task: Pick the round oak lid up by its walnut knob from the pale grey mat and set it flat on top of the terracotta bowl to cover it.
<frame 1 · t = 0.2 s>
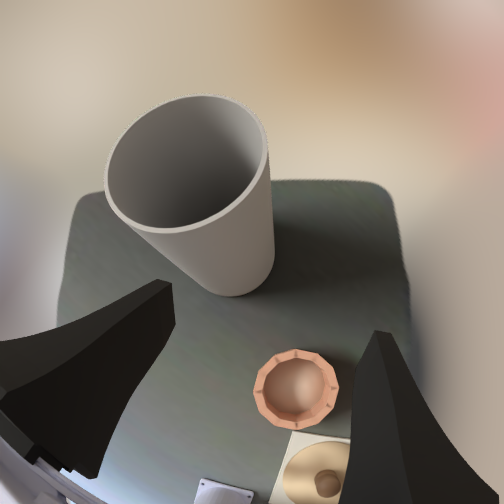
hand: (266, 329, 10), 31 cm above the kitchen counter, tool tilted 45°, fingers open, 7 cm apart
lid: (324, 476, 32), point 1 cm above the kitchen counter, touching mat
cylinder vase: (232, 255, 44), on the kitchen counter
bowl: (294, 385, 37), on the kitchen counter
mat: (324, 474, 33), on the kitchen counter
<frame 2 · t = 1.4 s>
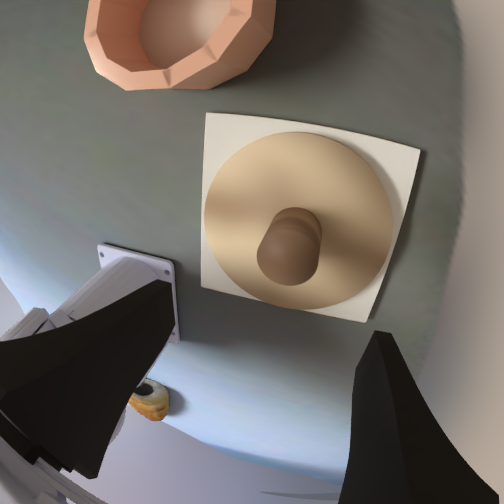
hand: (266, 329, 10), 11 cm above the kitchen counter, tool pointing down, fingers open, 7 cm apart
pastry: (153, 390, 36), on the kitchen counter
lid: (297, 226, 19), point 1 cm above the kitchen counter, touching mat
bowl: (196, 19, 14), on the kitchen counter
mat: (298, 223, 19), on the kitchen counter
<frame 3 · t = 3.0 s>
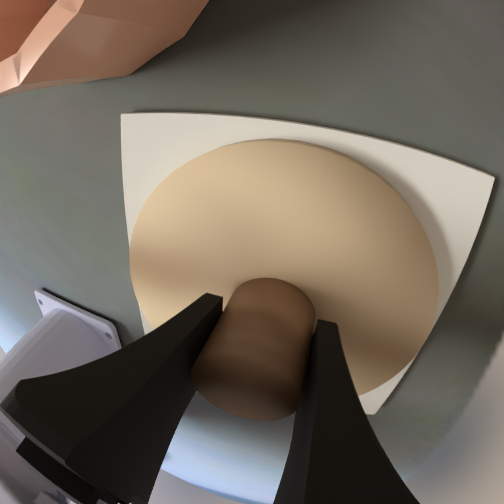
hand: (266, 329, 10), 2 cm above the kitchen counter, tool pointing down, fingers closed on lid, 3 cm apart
lid: (276, 301, 11), point 1 cm above the kitchen counter, touching gripper, mat
mat: (279, 292, 12), on the kitchen counter
when the fingers open (8 cm above the kitchen counter, at t = 5.9 s): lid drops 1 cm, resting on bowl.
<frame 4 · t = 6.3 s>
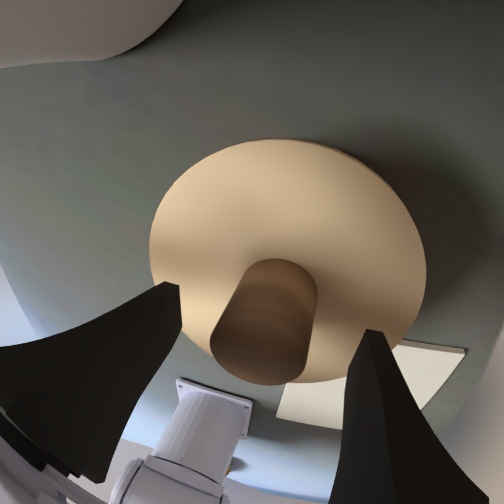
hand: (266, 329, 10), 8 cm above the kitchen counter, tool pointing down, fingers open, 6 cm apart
lid: (282, 281, 13), point 5 cm above the kitchen counter, touching bowl
mat: (362, 390, 22), on the kitchen counter
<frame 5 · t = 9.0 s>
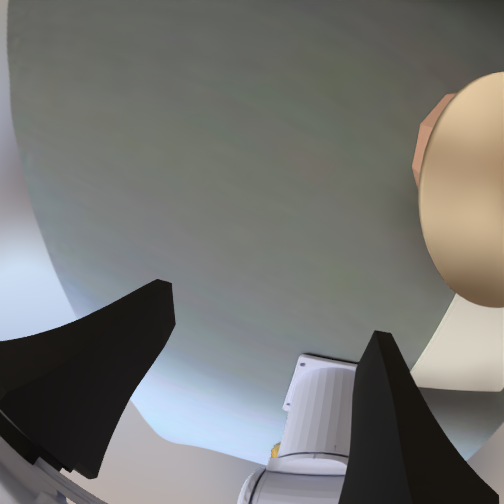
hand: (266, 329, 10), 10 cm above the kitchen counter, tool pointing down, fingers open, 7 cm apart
bowl: (483, 168, 14), on the kitchen counter
mat: (491, 339, 19), on the kitchen counter
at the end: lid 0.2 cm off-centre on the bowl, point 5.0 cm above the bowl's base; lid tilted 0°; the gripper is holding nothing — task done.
